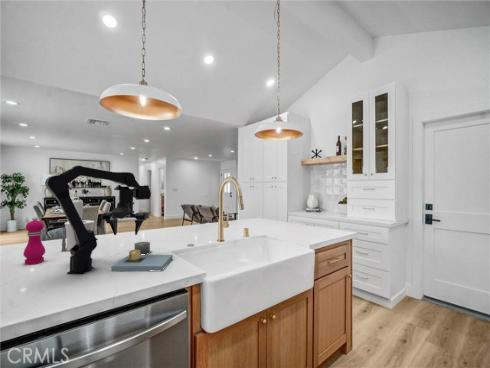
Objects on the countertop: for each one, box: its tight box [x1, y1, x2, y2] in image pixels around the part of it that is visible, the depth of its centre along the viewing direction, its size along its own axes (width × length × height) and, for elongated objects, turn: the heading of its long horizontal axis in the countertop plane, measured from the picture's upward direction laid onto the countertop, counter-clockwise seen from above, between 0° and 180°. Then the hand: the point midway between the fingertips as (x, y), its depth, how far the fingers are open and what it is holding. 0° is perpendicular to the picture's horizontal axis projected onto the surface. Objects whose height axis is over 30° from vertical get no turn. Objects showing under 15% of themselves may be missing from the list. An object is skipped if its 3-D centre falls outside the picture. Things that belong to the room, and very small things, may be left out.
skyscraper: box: [60, 196, 84, 253], centre depth 127 cm, size 8×8×28 cm
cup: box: [64, 220, 95, 257], centre depth 105 cm, size 11×11×18 cm
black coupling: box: [134, 241, 151, 255], centre depth 122 cm, size 7×7×5 cm
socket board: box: [110, 254, 174, 272], centre depth 104 cm, size 20×16×2 cm
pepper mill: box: [23, 216, 46, 266], centre depth 105 cm, size 7×7×20 cm
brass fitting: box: [128, 249, 140, 263], centre depth 104 cm, size 4×4×6 cm
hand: (125, 234), depth 108 cm, fingers open, 9 cm apart
